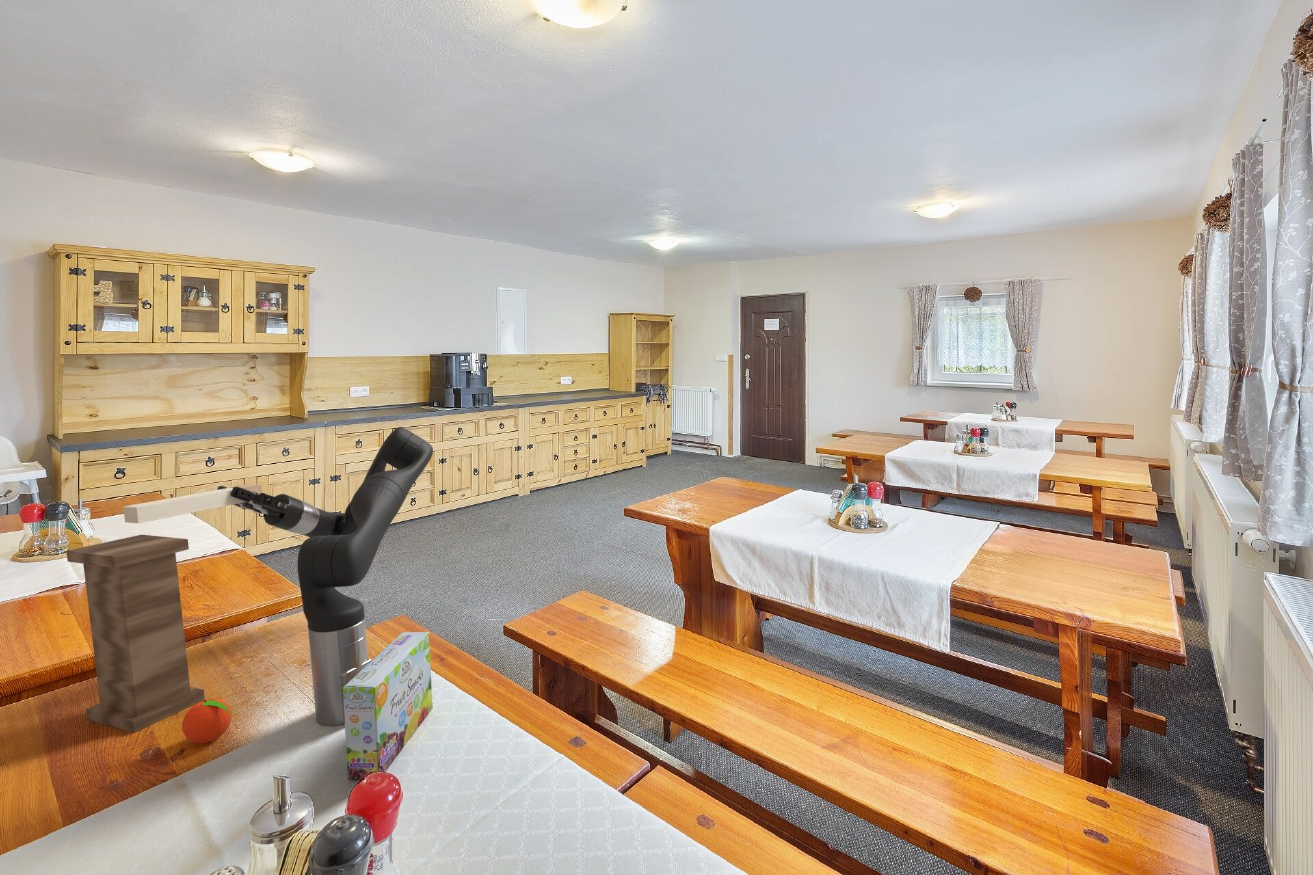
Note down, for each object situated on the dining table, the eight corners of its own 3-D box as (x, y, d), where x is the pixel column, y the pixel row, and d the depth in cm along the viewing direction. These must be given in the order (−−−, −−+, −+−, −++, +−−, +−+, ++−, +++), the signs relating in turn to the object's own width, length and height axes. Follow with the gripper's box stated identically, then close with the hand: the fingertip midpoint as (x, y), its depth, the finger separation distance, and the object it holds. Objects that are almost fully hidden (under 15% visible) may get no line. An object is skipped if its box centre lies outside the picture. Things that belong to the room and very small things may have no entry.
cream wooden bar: (262, 498, 136) (261, 484, 136) (138, 524, 114) (136, 507, 114) (249, 498, 138) (247, 484, 138) (124, 522, 116) (122, 505, 115)
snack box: (382, 781, 94) (375, 686, 92) (346, 782, 94) (338, 687, 92) (435, 707, 115) (430, 629, 113) (405, 708, 115) (400, 630, 114)
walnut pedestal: (204, 699, 120) (187, 539, 117) (134, 732, 109) (113, 556, 106) (159, 688, 126) (141, 534, 123) (87, 719, 114) (66, 550, 111)
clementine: (248, 729, 109) (245, 690, 109) (217, 752, 102) (213, 711, 102) (207, 728, 110) (203, 689, 110) (173, 751, 103) (168, 710, 103)
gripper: (277, 498, 150) (210, 473, 135) (320, 501, 144) (255, 474, 130) (265, 528, 147) (195, 505, 132) (308, 532, 141) (241, 508, 127)
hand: (225, 490), depth 131 cm, fingers closed on cream wooden bar, 4 cm apart
